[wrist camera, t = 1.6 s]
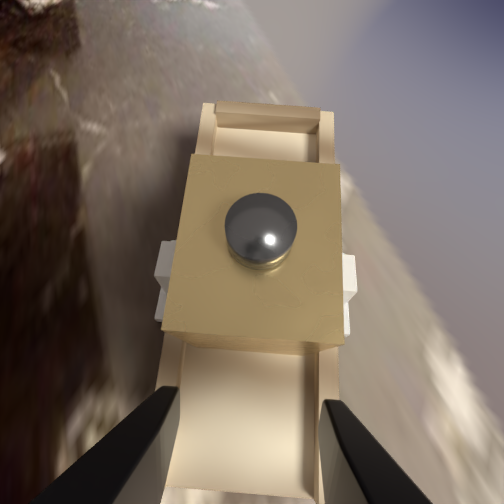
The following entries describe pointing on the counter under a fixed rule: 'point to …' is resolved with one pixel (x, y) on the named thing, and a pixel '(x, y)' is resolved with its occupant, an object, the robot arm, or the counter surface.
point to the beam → (252, 363)
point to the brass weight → (258, 257)
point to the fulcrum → (165, 268)
